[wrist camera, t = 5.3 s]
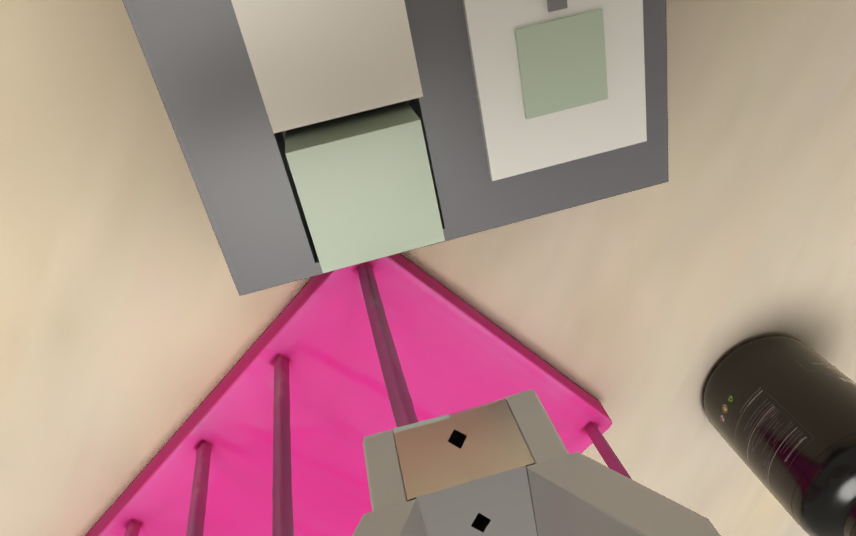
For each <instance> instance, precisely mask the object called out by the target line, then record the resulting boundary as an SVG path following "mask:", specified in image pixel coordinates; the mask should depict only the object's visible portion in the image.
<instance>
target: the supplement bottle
mask: <svg viewBox="0 0 856 536" xmlns="http://www.w3.org/2000/svg"><path fill="white" fill-rule="evenodd" d="M704 409H705V413H706V415H707V418H708V419H709V421H710V423H711V424H712V425H713V426H714V428H715V429H716V430H717V431H718V432H719V434H720V435H721V436H722V437H723V438H724V440H725V441H726V442H727V443H728V444H729V445H730V446H731V448H732V449H733V450H734V451H735V452H736V453H737V454H738V456H739V457H740V458H741V459H742V460H743V461H744V463H745V464H746V465H747V466H748V467H749V468H750V469H751V471H752V472H753V473H754V474H755V475H756V476H757V477H758V479H759V480H760V481H761V482H762V483H763V484H764V485H765V487H766V488H767V489H768V490H769V491H770V492H771V494H772V495H773V496H774V497H775V498H776V499H777V500H778V502H779V503H780V504H781V505H782V506H783V507H784V508H785V510H786V511H787V512H788V513H789V514H790V515H791V516H792V518H793V519H794V520H795V521H796V522H797V523H798V524H799V525H800V526H801V527H802V529H803V530H804V531H805V532H806V533H808V534H809V535H810V536H856V383H855V382H853V381H852V380H851V379H849V378H848V377H847V376H846V375H844V374H843V373H842V372H840V371H839V370H838V369H837V368H835V367H834V366H833V365H831V364H830V363H829V362H828V361H826V360H825V359H824V358H822V357H821V356H820V355H819V354H817V353H816V352H814V351H813V350H812V349H810V348H809V347H808V346H806V345H805V344H803V343H802V342H800V341H798V340H796V339H793V338H790V337H785V336H768V337H762V338H758V339H755V340H752V341H750V342H747V343H745V344H743V345H741V346H739V347H738V348H736V349H735V350H733V351H732V352H731V353H729V354H728V355H727V356H726V357H725V358H724V359H723V360H722V361H721V362H720V363H719V364H718V365H717V366H716V368H715V369H714V371H713V372H712V374H711V376H710V377H709V379H708V382H707V384H706V387H705V391H704Z"/></svg>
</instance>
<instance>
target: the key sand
mask: <svg viewBox="0 0 856 536" xmlns="http://www.w3.org/2000/svg"><path fill="white" fill-rule="evenodd" d="M231 2H232V5H233V8H234V11H235V14H236V18H237V21H238V24H239V27H240V30H241V33H242V36H243V39H244V43H245V46H246V49H247V52H248V55H249V58H250V61H251V64H252V68H253V71H254V74H255V77H256V80H257V83H258V86H259V89H260V93H261V96H262V99H263V102H264V105H265V108H266V111H267V114H268V118H269V121H270V124H271V127H272V130H273V133H278V132H282V131H286V130H290V129H294V128H298V127H302V126H306V125H310V124H314V123H318V122H322V121H326V120H330V119H335V118H339V117H343V116H347V115H351V114H355V113H359V112H363V111H367V110H371V109H375V108H379V107H383V106H387V105H391V104H395V103H399V102H403V101H407V100H411V99H415V98H420V97H423V93H422V88H421V83H420V78H419V73H418V67H417V62H416V57H415V52H414V47H413V42H412V37H411V32H410V27H409V22H408V17H407V12H406V7H405V2H404V0H231Z"/></svg>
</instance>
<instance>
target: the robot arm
mask: <svg viewBox="0 0 856 536" xmlns="http://www.w3.org/2000/svg"><path fill="white" fill-rule="evenodd" d="M363 448H364V456H365V463H366V470H367V477H368V484H369V492H370V499H371V506H372V512H370V513H366V514H364V515H363V516H362V518H361V520H360V522H359V524H358V526H357V527H356V529H355V531H354V533H353V535H352V536H720V535H719V533H718V532H717V530H716V529H715V528H714V526H713V525H712V523H711V522H710V521H709V519H707V518H705V517H703V516H701V515H700V514H698V513H696V512H694V511H692V510H690V509H688V508H686V507H684V506H682V505H680V504H678V503H676V502H674V501H672V500H670V499H668V498H666V497H665V496H663V495H661V494H659V493H657V492H655V491H653V490H651V489H649V488H647V487H645V486H643V485H641V484H639V483H637V482H635V481H633V480H632V479H630V478H628V477H626V476H624V475H622V474H620V473H618V472H616V471H614V470H612V469H610V468H608V467H606V466H604V465H602V464H600V463H598V462H597V461H595V460H593V459H591V458H589V457H587V456H585V455H583V454H581V453H579V452H575V453H571V454H569V453H568V451H567V449H566V447H565V445H564V444H563V442H562V440H561V438H560V436H559V434H558V433H557V431H556V429H555V427H554V425H553V423H552V422H551V420H550V418H549V416H548V414H547V412H546V411H545V409H544V407H543V405H542V403H541V401H540V399H539V398H538V396H537V394H536V392H535V391H533V390H532V389H530V390H527V391H524V392H520V393H517V394H514V395H511V396H507V397H504V399H503V398H502V399H499V400H495V401H492V402H489V403H485V404H482V405H478V406H475V407H471V408H468V409H465V410H461V411H458V412H454V413H451V414H447V415H444V416H440V417H436V418H432V419H428V420H424V421H420V422H416V423H413V424H409V425H405V426H401V427H397V428H393V430H388V431H384V432H380V433H376V434H372V435H368V436H365V437H364V438H363Z"/></svg>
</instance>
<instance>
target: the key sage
mask: <svg viewBox="0 0 856 536" xmlns="http://www.w3.org/2000/svg"><path fill="white" fill-rule="evenodd" d="M285 154H286V158H287V161H288V164H289V167H290V170H291V173H292V177H293V180H294V183H295V186H296V189H297V192H298V196H299V199H300V202H301V205H302V208H303V211H304V215H305V218H306V221H307V224H308V227H309V230H310V234H311V237H312V240H313V243H314V246H315V249H316V253H317V256H318V259H319V262H320V265H321V268H322V272H323V273H326V272H330V271H334V270H337V269H341V268H345V267H349V266H352V265H356V264H360V263H364V262H367V261H371V260H375V259H379V258H382V257H386V256H390V255H394V254H397V253H401V252H405V251H409V250H412V249H416V248H420V247H424V246H427V245H431V244H435V243H439V242H442V241H445V238H444V233H443V228H442V224H441V219H440V214H439V209H438V204H437V199H436V194H435V189H434V184H433V179H432V174H431V169H430V165H429V160H428V155H427V150H426V145H425V140H424V135H423V130H422V125H421V120H420V119H419V117H418V116H417V115H416V113H415V112H414V111H413V109H412V108H411V107H410V105H409V104H408V103H407V101H404V102H400V103H396V104H392V105H388V106H384V107H380V108H376V109H372V110H367V111H363V112H359V113H355V114H351V115H347V116H343V117H339V118H335V119H331V120H327V121H323V122H319V123H315V124H311V125H307V126H303V127H299V128H295V129H291V130H287V131H285Z"/></svg>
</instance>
